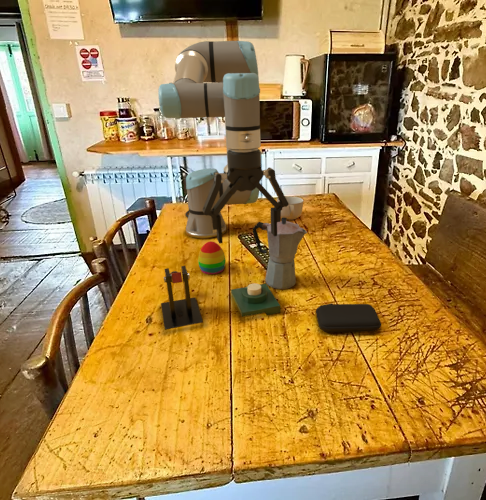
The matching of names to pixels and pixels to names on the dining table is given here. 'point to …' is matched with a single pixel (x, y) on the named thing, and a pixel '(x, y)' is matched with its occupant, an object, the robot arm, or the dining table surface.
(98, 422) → the dining table surface
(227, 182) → the robot arm
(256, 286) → the button
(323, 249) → the dining table surface
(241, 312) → the control block
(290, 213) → the teacup
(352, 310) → the carrying case
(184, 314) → the switch bracket
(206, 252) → the decorative egg
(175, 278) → the switch lever
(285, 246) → the moka pot
